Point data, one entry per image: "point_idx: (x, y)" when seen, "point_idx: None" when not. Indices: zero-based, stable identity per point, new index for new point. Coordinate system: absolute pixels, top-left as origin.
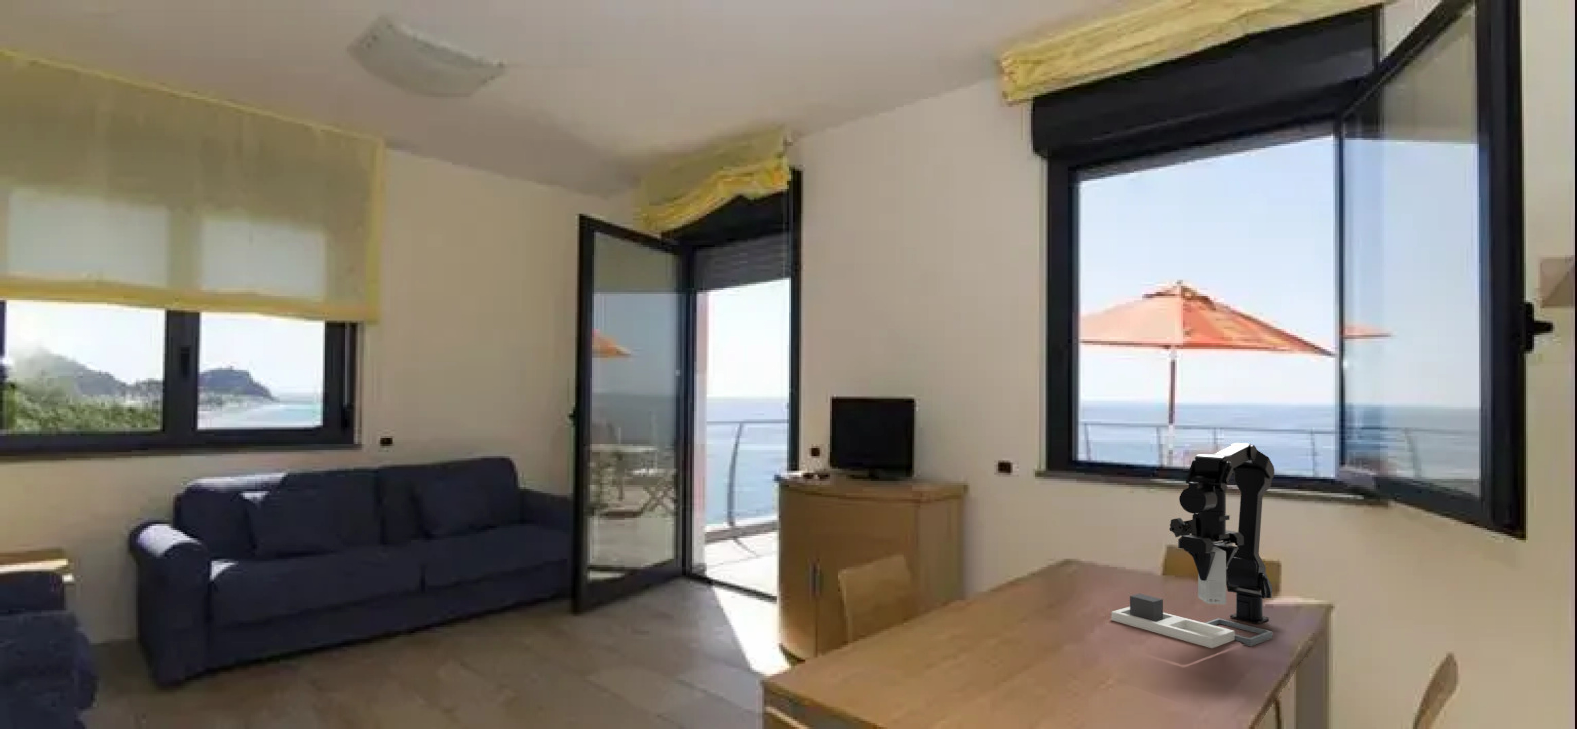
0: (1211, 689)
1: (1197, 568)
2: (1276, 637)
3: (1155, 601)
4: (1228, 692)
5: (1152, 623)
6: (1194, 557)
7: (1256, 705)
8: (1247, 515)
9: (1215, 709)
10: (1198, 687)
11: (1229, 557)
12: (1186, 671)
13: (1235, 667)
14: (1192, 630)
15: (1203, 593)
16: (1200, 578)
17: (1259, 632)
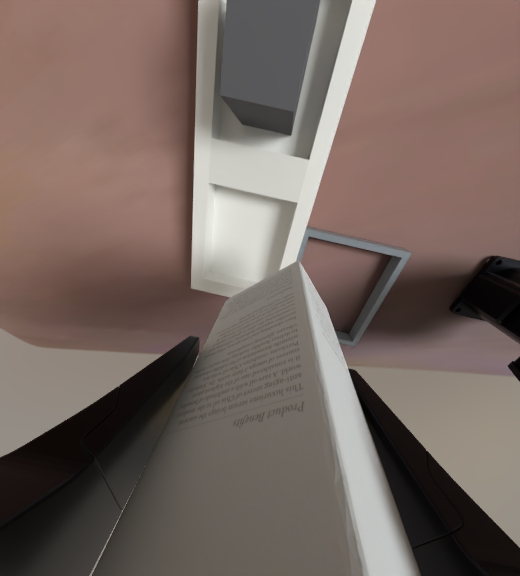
0: (51, 310)
1: (138, 374)
2: (361, 341)
3: (234, 98)
4: (64, 324)
5: (195, 134)
6: (32, 455)
7: (63, 348)
8: None
9: (9, 322)
10: (39, 297)
11: None
12: (71, 272)
13: (153, 317)
14: (288, 220)
15: (242, 300)
16: (185, 339)
17: (357, 325)
